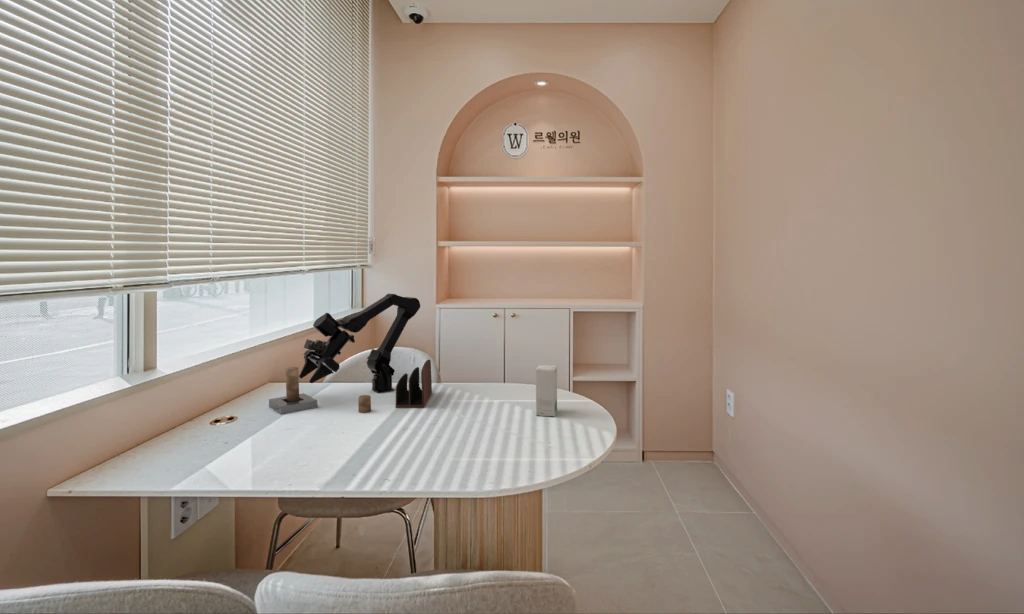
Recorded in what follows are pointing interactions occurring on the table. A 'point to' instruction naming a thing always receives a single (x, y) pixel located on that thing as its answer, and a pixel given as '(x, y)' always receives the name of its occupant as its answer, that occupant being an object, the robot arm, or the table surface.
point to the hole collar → (292, 404)
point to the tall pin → (292, 384)
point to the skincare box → (546, 390)
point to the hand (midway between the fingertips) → (305, 380)
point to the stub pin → (364, 403)
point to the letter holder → (414, 388)
